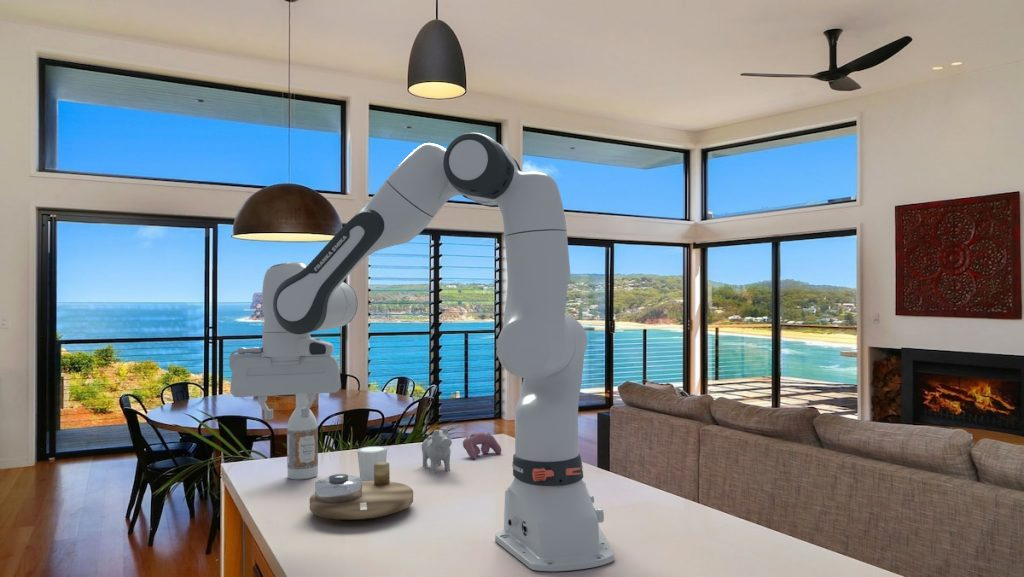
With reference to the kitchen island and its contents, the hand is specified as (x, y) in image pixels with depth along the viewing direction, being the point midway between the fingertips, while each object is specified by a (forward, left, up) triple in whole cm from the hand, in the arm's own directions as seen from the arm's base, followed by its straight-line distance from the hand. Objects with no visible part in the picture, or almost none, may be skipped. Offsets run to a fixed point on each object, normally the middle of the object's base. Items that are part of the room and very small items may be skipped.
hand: (287, 418), depth 129 cm
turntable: (0, -14, -18) cm, 22 cm away
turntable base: (0, -14, -19) cm, 24 cm away
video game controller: (+39, -46, -20) cm, 64 cm away
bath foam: (+31, -1, -19) cm, 37 cm away
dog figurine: (+28, -33, -19) cm, 47 cm away
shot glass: (+24, -17, -19) cm, 35 cm away
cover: (0, -9, -16) cm, 19 cm away
